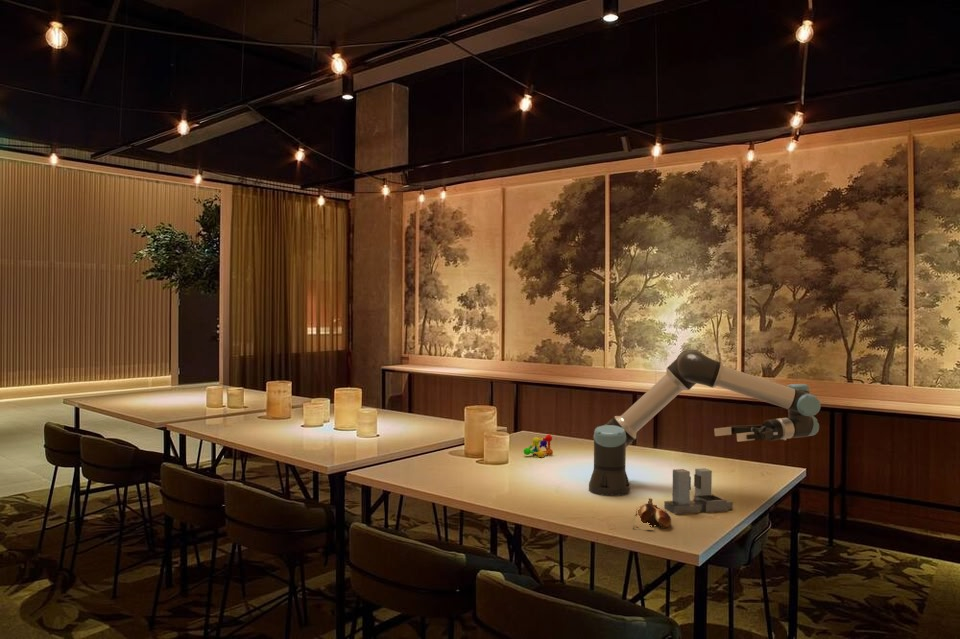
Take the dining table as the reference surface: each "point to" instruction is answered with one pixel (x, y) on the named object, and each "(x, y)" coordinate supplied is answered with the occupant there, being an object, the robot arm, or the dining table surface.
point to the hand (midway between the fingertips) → (725, 434)
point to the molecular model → (537, 449)
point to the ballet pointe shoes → (654, 515)
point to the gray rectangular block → (702, 481)
